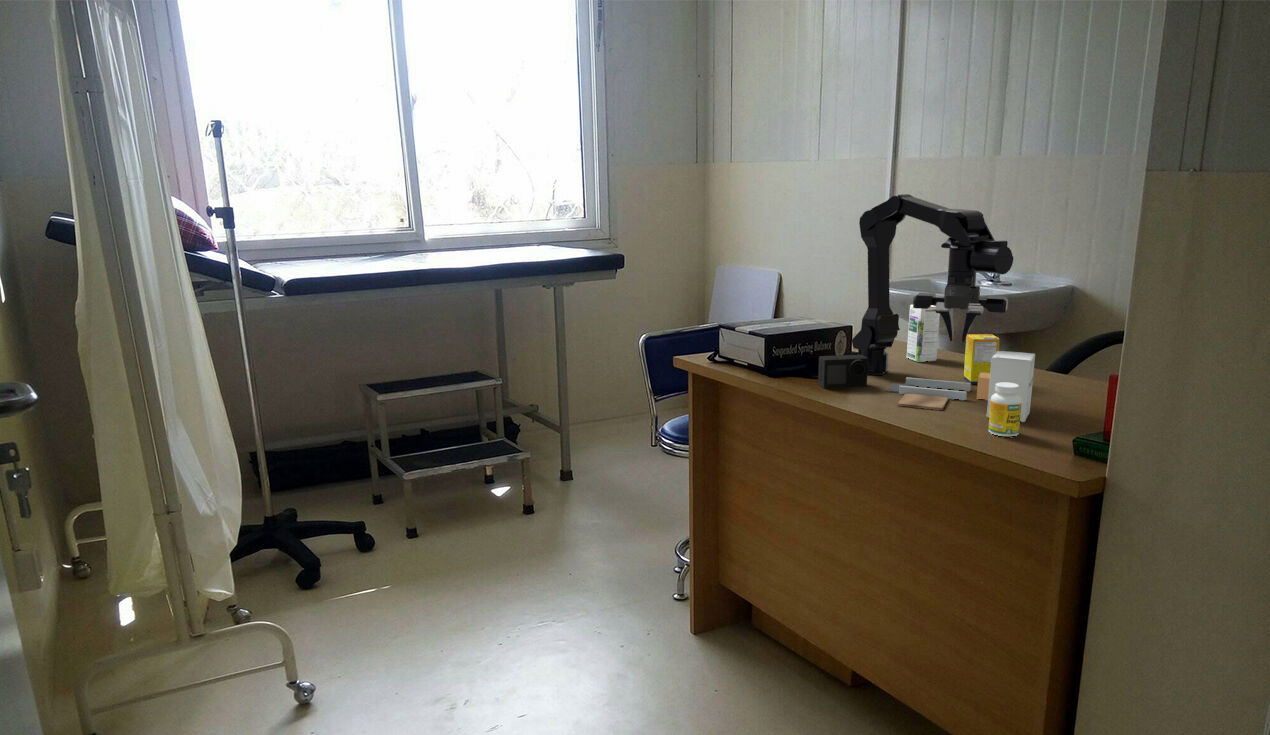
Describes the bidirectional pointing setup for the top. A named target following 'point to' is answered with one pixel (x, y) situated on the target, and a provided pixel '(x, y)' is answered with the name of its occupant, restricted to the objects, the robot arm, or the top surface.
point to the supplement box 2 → (1013, 376)
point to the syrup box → (923, 334)
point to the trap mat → (896, 387)
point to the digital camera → (843, 371)
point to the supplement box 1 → (979, 355)
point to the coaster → (923, 401)
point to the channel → (936, 384)
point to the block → (983, 386)
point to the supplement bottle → (1005, 410)
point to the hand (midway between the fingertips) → (957, 341)
